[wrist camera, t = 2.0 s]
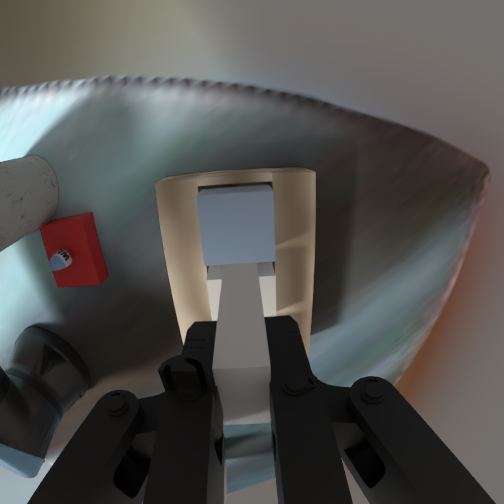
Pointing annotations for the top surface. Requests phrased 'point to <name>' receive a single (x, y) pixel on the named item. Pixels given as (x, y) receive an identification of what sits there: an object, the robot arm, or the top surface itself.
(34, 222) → the grey cylinder
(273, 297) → the white key
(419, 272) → the top surface
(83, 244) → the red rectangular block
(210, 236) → the blue key
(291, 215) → the frame
